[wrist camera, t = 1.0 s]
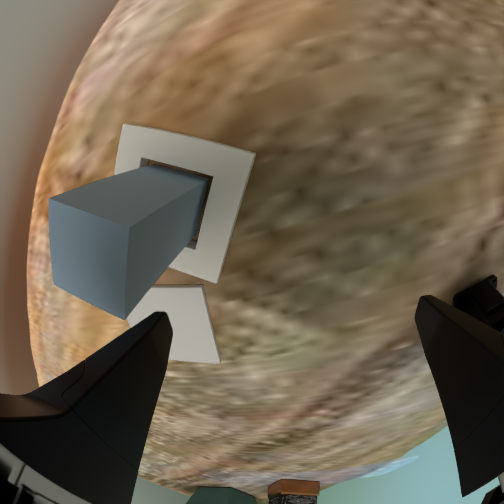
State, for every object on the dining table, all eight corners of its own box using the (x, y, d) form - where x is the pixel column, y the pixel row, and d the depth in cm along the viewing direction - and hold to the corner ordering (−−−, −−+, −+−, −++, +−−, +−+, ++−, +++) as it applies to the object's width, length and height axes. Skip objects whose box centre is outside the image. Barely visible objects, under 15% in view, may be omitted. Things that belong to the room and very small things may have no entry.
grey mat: (203, 284, 25) (201, 287, 24) (221, 360, 29) (220, 363, 28) (117, 285, 26) (115, 287, 26) (145, 353, 30) (143, 356, 30)
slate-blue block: (209, 178, 21) (129, 227, 10) (195, 234, 23) (124, 320, 12) (154, 163, 21) (49, 198, 10) (145, 218, 23) (54, 284, 12)
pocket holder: (256, 153, 19) (254, 154, 18) (220, 275, 24) (216, 283, 23) (132, 123, 19) (123, 123, 18) (115, 238, 24) (107, 243, 23)
